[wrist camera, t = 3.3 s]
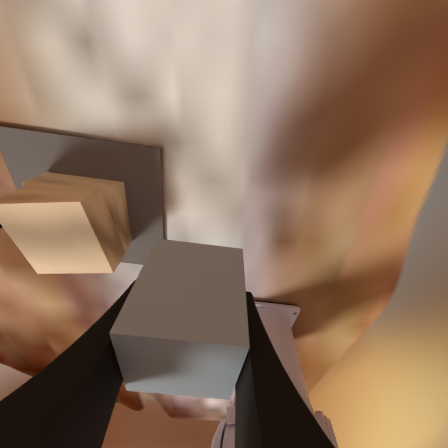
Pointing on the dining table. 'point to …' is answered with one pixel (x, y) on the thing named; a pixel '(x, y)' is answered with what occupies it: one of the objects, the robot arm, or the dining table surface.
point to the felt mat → (95, 174)
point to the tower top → (63, 229)
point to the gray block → (184, 322)
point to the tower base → (110, 189)
